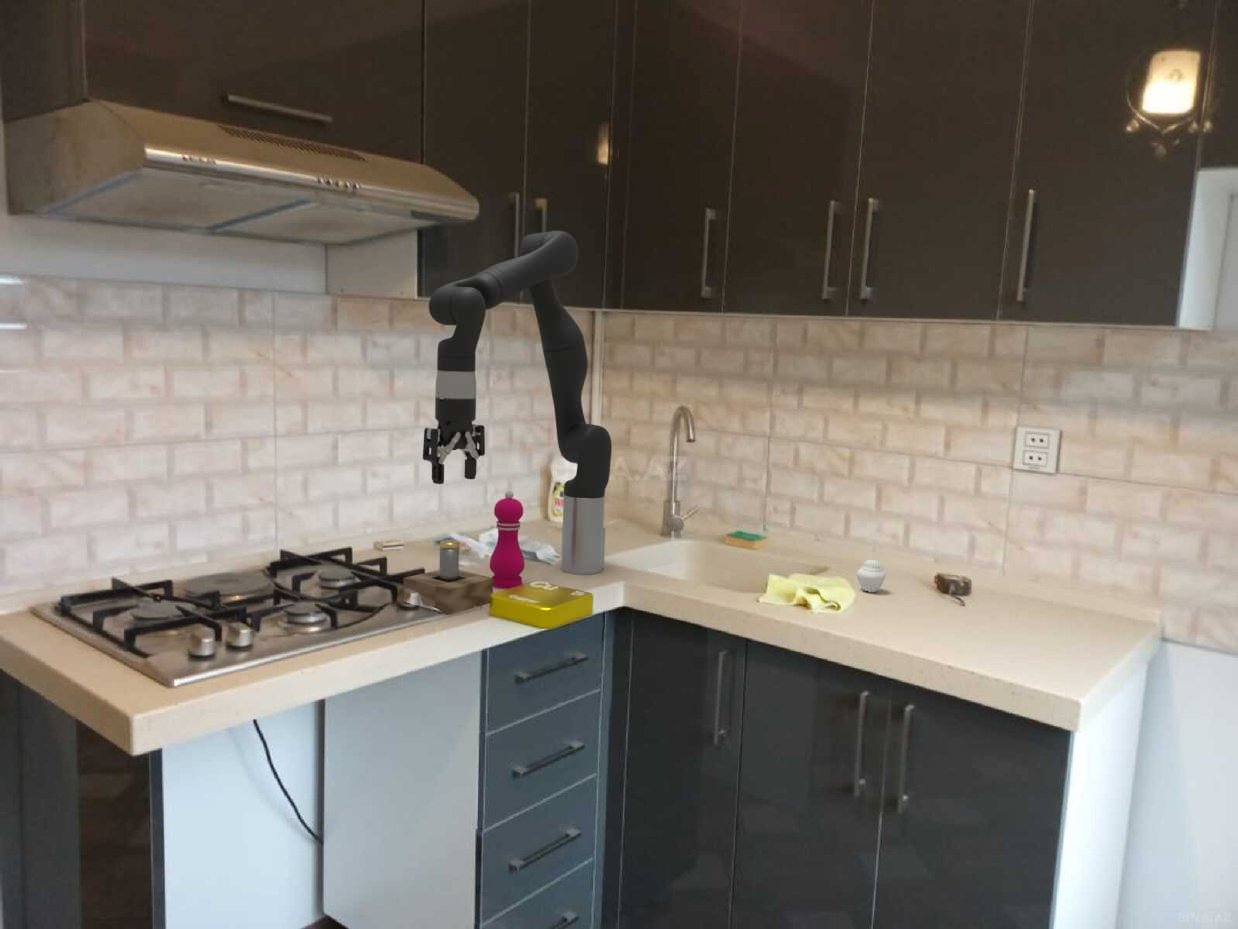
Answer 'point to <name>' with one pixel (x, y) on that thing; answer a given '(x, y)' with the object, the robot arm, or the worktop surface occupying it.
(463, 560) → the worktop surface
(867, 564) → the white rounded jar
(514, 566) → the pepper mill
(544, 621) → the element tile
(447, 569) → the metal pin
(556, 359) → the robot arm
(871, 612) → the worktop surface
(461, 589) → the pin block
